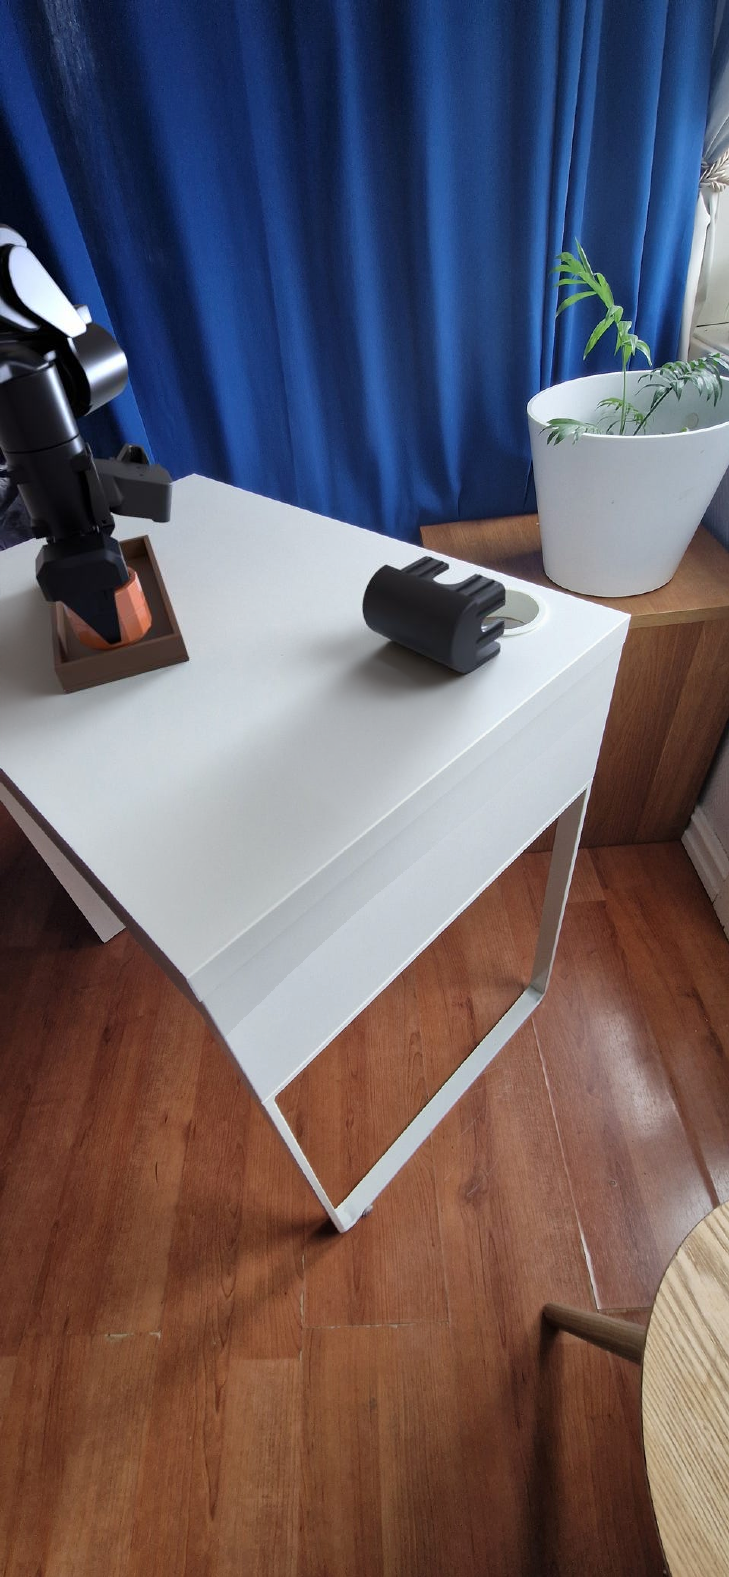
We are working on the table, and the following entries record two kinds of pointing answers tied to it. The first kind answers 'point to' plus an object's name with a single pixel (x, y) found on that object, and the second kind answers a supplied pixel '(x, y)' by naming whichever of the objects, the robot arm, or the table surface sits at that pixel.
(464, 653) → the end cap
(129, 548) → the tray
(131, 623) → the terracotta flower pot
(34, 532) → the robot arm
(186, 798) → the table surface
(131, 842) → the table surface
